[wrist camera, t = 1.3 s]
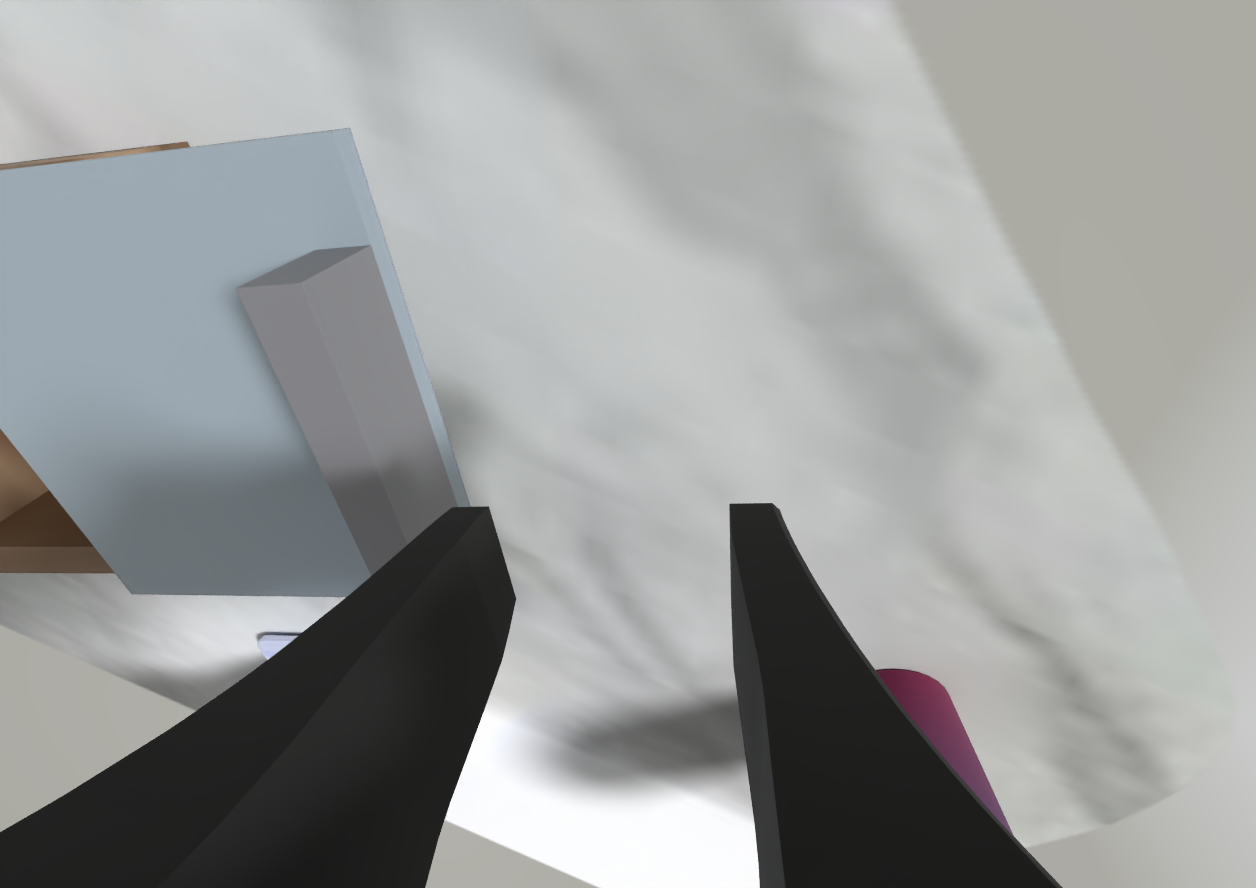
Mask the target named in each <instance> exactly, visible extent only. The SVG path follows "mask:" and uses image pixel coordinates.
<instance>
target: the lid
mask: <svg viewBox="0 0 1256 888" xmlns="http://www.w3.org/2000/svg"><path fill="white" fill-rule="evenodd" d="M0 429H1V430H2V431H3V432H4V434H5V435H6V436H7V437H8V439H9V440H10V441H11V442H12V444H13V445H14V446H15V448H16V449H17V450H18V451H19V453H20V454H21V455H22V456H23V458H24V459H25V460H26V461H27V463H28V464H29V465H30V466H31V468H32V469H33V470H34V471H35V473H36V474H37V475H38V477H39V478H40V479H41V480H42V482H43V483H44V484H45V485H46V487H47V488H48V489H49V490H50V492H51V493H52V494H53V495H54V497H55V498H56V499H57V501H58V502H59V503H60V504H61V506H62V507H63V508H64V509H65V511H66V512H67V513H68V514H69V516H70V517H71V518H72V519H73V521H74V522H75V523H76V525H77V526H78V527H79V528H80V530H81V531H82V532H83V533H84V535H85V536H86V537H87V538H88V540H89V541H90V542H91V543H92V545H93V546H94V547H95V548H96V550H97V551H98V552H99V554H100V555H101V556H102V557H103V559H104V560H105V561H106V562H107V564H108V565H109V566H110V567H111V569H112V570H113V571H114V572H115V574H116V575H117V576H118V578H119V579H120V580H121V581H122V583H123V584H124V585H125V586H126V588H127V589H128V590H129V591H130V593H131V594H159V595H232V596H305V597H347V596H348V595H350V594H351V593H352V592H353V591H354V590H355V589H357V588H358V587H359V586H360V585H361V584H362V583H364V582H365V581H366V580H367V579H368V578H369V577H371V576H372V575H373V574H374V573H375V572H376V571H378V570H379V569H380V568H381V567H382V566H383V565H385V564H386V563H387V562H388V561H389V560H390V559H392V558H393V557H394V556H395V555H396V554H397V553H398V552H400V551H401V550H402V549H403V548H404V547H405V546H406V545H408V544H409V543H410V542H411V541H412V540H413V539H415V538H416V537H417V536H418V535H419V534H420V533H421V532H423V531H424V530H425V529H426V528H427V527H428V526H430V525H431V524H432V523H433V522H434V521H435V520H437V519H438V518H439V517H440V516H442V515H443V514H444V513H445V512H447V511H448V510H449V509H450V508H452V507H471V506H470V503H469V500H468V497H467V494H466V491H465V488H464V484H463V481H462V478H461V475H460V472H459V469H458V466H457V462H456V459H455V456H454V453H453V450H452V447H451V444H450V440H449V437H448V434H447V431H446V428H445V425H444V422H443V418H442V415H441V412H440V409H439V406H438V403H437V400H436V396H435V393H434V390H433V387H432V384H431V381H430V378H429V374H428V371H427V368H426V365H425V362H424V359H423V356H422V352H421V349H420V346H419V343H418V340H417V337H416V334H415V330H414V327H413V324H412V321H411V318H410V315H409V312H408V308H407V305H406V302H405V299H404V296H403V293H402V290H401V286H400V283H399V280H398V277H397V274H396V271H395V268H394V264H393V261H392V258H391V255H390V252H389V249H388V246H387V242H386V239H385V236H384V233H383V230H382V227H381V224H380V220H379V217H378V214H377V211H376V208H375V205H374V202H373V198H372V195H371V192H370V189H369V186H368V183H367V180H366V177H365V173H364V170H363V167H362V164H361V161H360V158H359V155H358V151H357V148H356V145H355V142H354V139H353V136H352V133H351V129H350V128H345V129H337V130H329V131H321V132H312V133H304V134H296V135H287V136H279V137H271V138H263V139H254V140H246V141H238V142H229V143H221V144H213V145H204V146H196V147H188V148H180V149H171V150H163V151H155V152H146V153H138V154H130V155H121V156H113V157H105V158H97V159H88V160H80V161H72V162H63V163H55V164H47V165H38V166H30V167H22V168H14V169H5V170H0Z"/></svg>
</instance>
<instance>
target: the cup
mask: <svg viewBox="0 0 1256 888" xmlns="http://www.w3.org/2000/svg"><path fill="white" fill-rule="evenodd" d="M876 672H877V673H878V675H879V676H880V677H881V679H882V680H883V682H884V683H885V684H886V686H887V687H888V688H889V690H890V691H891V692H892V693H893V695H894V696H895V697H896V699H897V700H898V701H899V703H900V704H901V705H902V707H903V708H904V709H905V710H906V712H907V713H908V714H909V715H910V717H911V718H912V719H913V720H914V722H915V723H916V724H917V725H918V727H919V728H920V729H921V730H922V732H923V733H924V734H925V735H926V736H927V738H928V739H929V740H930V741H931V742H932V744H933V745H934V746H935V747H936V748H937V750H938V751H939V752H940V753H941V755H942V756H943V757H944V758H945V759H946V761H947V762H948V763H949V764H950V765H951V767H952V768H953V769H954V770H955V771H956V772H957V773H958V775H959V776H960V777H961V778H962V779H963V780H964V781H965V783H966V784H967V785H968V786H969V787H970V788H971V789H972V791H973V792H974V793H975V794H976V795H977V796H978V797H979V799H980V800H981V801H982V802H983V803H984V804H985V805H986V807H987V808H988V809H989V810H990V811H991V812H992V813H993V815H994V816H995V817H996V818H997V819H998V820H999V821H1000V822H1001V823H1002V825H1003V826H1004V827H1005V828H1006V829H1007V830H1008V831H1009V832H1010V833H1011V834H1012V831H1011V829H1010V827H1009V825H1008V823H1007V820H1006V818H1005V816H1004V814H1003V812H1002V810H1001V807H1000V805H999V803H998V801H997V799H996V796H995V794H994V792H993V790H992V788H991V786H990V783H989V781H988V779H987V777H986V775H985V772H984V770H983V768H982V766H981V764H980V761H979V759H978V757H977V755H976V753H975V751H974V748H973V746H972V744H971V742H970V740H969V737H968V735H967V733H966V731H965V729H964V727H963V724H962V722H961V720H960V718H959V716H958V713H957V711H956V709H955V707H954V705H953V703H952V700H951V698H950V696H949V694H948V692H947V691H946V689H945V687H943V686H942V685H941V684H940V683H939V682H938V681H936V680H935V679H933V678H931V677H929V676H927V675H924V674H921V673H918V672H913V671H909V670H897V669H895V670H881V671H876ZM1012 835H1013V834H1012Z"/></svg>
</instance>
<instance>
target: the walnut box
mask: <svg viewBox="0 0 1256 888" xmlns="http://www.w3.org/2000/svg"><path fill="white" fill-rule="evenodd" d="M188 147H189V144H188V142H180V143H172V144H164V145H155V146H147V147H139V148H131V149H123V150H115V151H106V152H98V153H90V154H82V155H74V156H66V157H57V158H49V159H41V160H33V161H25V162H16V163H8V164H0V170H5V169H14V168H22V167H30V166H38V165H47V164H55V163H63V162H72V161H80V160H88V159H97V158H105V157H113V156H121V155H130V154H138V153H146V152H155V151H163V150H171V149H180V148H188ZM0 573H115V572H114V571H113V570H112V569H111V567H110V566H109V565H108V564H107V562H106V561H105V560H104V559H103V557H102V556H101V555H100V554H99V552H98V551H97V550H96V548H95V547H94V546H93V545H92V543H91V542H90V541H89V540H88V538H87V537H86V536H85V535H84V533H83V532H82V531H81V530H80V528H79V527H78V526H77V525H76V523H75V522H74V521H73V519H72V518H71V517H70V516H69V514H68V513H67V512H66V511H65V509H64V508H63V507H62V506H61V504H60V503H59V502H58V501H57V499H56V498H55V497H54V495H53V494H52V493H51V492H50V490H49V489H48V488H47V487H46V485H45V484H44V483H43V482H42V480H41V479H40V478H39V477H38V475H37V474H36V473H35V471H34V470H33V469H32V468H31V466H30V465H29V464H28V463H27V461H26V460H25V459H24V458H23V456H22V455H21V454H20V453H19V451H18V450H17V449H16V448H15V446H14V445H13V444H12V442H11V441H10V440H9V439H8V437H7V436H6V435H5V434H4V432H3V431H2V430H1V429H0Z"/></svg>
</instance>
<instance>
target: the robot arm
mask: <svg viewBox="0 0 1256 888" xmlns="http://www.w3.org/2000/svg"><path fill="white" fill-rule="evenodd" d="M730 560H731V609H732V636H733V662H734V672H735V680H736V687H737V695H738V703H739V710H740V718H741V725H742V733H743V740H744V747H745V755H746V762H747V770H748V777H749V785H750V792H751V800H752V807H753V815H754V822H755V831H756V841H757V852H758V862H759V878H760V888H1062V887H1061V886H1060V885H1059V884H1058V883H1057V881H1056V880H1055V879H1054V878H1053V877H1052V876H1051V875H1050V874H1049V873H1048V872H1047V871H1046V870H1045V869H1044V868H1043V867H1042V866H1041V865H1040V864H1039V863H1038V861H1036V859H1035V858H1034V857H1033V856H1032V855H1031V854H1030V853H1029V852H1028V851H1027V850H1026V849H1025V848H1024V847H1023V846H1022V845H1021V844H1020V842H1019V841H1018V840H1017V839H1016V838H1015V837H1014V836H1013V835H1012V834H1011V833H1010V832H1009V831H1008V830H1007V829H1006V828H1005V827H1004V826H1003V825H1002V823H1001V822H1000V821H999V820H998V819H997V818H996V817H995V816H994V815H993V813H992V812H991V811H990V810H989V809H988V808H987V807H986V805H985V804H984V803H983V802H982V801H981V800H980V799H979V797H978V796H977V795H976V794H975V793H974V792H973V791H972V789H971V788H970V787H969V786H968V785H967V784H966V783H965V781H964V780H963V779H962V778H961V777H960V776H959V775H958V773H957V772H956V771H955V770H954V769H953V768H952V767H951V765H950V764H949V763H948V762H947V761H946V759H945V758H944V757H943V756H942V755H941V753H940V752H939V751H938V750H937V748H936V747H935V746H934V745H933V744H932V742H931V741H930V740H929V739H928V738H927V736H926V735H925V734H924V733H923V732H922V730H921V729H920V728H919V727H918V725H917V724H916V723H915V722H914V720H913V719H912V718H911V717H910V715H909V714H908V713H907V712H906V710H905V709H904V708H903V707H902V705H901V704H900V703H899V701H898V700H897V699H896V697H895V696H894V695H893V693H892V692H891V691H890V690H889V688H888V687H887V686H886V684H885V683H884V682H883V680H882V679H881V677H880V676H879V675H878V673H877V672H876V671H875V669H874V668H873V666H872V665H871V664H870V662H869V661H868V660H867V658H866V657H865V655H864V654H863V653H862V651H861V650H860V648H859V647H858V646H857V644H856V643H855V641H854V640H853V638H852V637H851V635H850V634H849V632H848V631H847V629H846V628H845V627H844V625H843V623H842V622H841V620H840V619H839V617H838V616H837V614H836V612H835V611H834V609H833V608H832V606H831V605H830V603H829V602H828V600H827V598H826V597H825V595H824V594H823V592H822V591H821V589H820V587H819V586H818V584H817V582H816V581H815V579H814V577H813V576H812V574H811V572H810V571H809V569H808V567H807V565H806V563H805V562H804V560H803V558H802V556H801V554H800V553H799V551H798V549H797V547H796V545H795V543H794V541H793V539H792V537H791V535H790V533H789V531H788V529H787V527H786V524H785V522H784V520H783V517H782V515H781V512H780V510H779V509H778V508H777V507H776V506H775V505H774V504H772V503H753V504H730ZM515 601H516V597H515V593H514V590H513V586H512V583H511V580H510V576H509V573H508V570H507V566H506V563H505V559H504V556H503V553H502V549H501V546H500V543H499V539H498V536H497V533H496V529H495V526H494V522H493V519H492V516H491V512H490V509H489V507H452V508H450V509H449V510H448V511H447V512H445V513H444V514H443V515H442V516H440V517H439V518H438V519H437V520H435V521H434V522H433V523H432V524H431V525H430V526H428V527H427V528H426V529H425V530H424V531H423V532H421V533H420V534H419V535H418V536H417V537H416V538H415V539H413V540H412V541H411V542H410V543H409V544H408V545H406V546H405V547H404V548H403V549H402V550H401V551H400V552H398V553H397V554H396V555H395V556H394V557H393V558H392V559H390V560H389V561H388V562H387V563H386V564H385V565H383V566H382V567H381V568H380V569H379V570H378V571H376V572H375V573H374V574H373V575H372V576H371V577H369V578H368V579H367V580H366V581H365V582H364V583H362V584H361V585H360V586H359V587H358V588H357V589H355V590H354V591H353V592H352V593H351V594H350V595H348V596H347V597H346V598H345V599H344V600H343V601H341V602H340V603H339V604H338V605H336V606H335V607H334V608H333V609H331V610H330V611H329V612H328V613H326V614H325V615H324V616H323V617H321V618H320V619H319V620H318V621H316V622H315V623H314V624H313V625H311V626H310V627H309V628H308V629H306V630H305V631H304V632H303V633H301V634H300V635H299V636H283V635H265V636H263V637H262V638H261V639H260V640H259V641H258V647H259V649H260V650H261V652H262V653H263V655H264V656H265V658H266V659H267V661H266V662H264V663H263V664H262V665H260V666H259V667H258V668H256V669H255V670H254V671H252V672H251V673H250V674H248V675H247V676H245V677H244V678H243V679H241V680H240V681H239V682H237V683H236V684H234V685H233V686H232V687H230V688H229V689H227V690H226V691H225V692H223V693H222V694H220V695H219V696H217V697H216V698H214V699H213V700H212V701H210V702H209V703H207V704H206V705H204V706H203V707H201V708H200V709H199V710H197V711H196V712H194V713H193V714H191V715H190V716H188V717H187V718H186V719H184V720H183V721H181V722H180V723H178V724H177V725H175V726H174V727H172V728H171V729H169V730H168V731H166V732H165V733H163V734H161V735H160V736H158V737H157V738H155V739H153V740H152V741H150V742H149V743H147V744H145V745H144V746H142V747H141V748H139V749H137V750H136V751H134V752H133V753H131V754H129V755H128V756H126V757H125V758H123V759H121V760H120V761H119V762H117V763H115V764H113V765H112V766H110V767H109V768H107V769H105V770H104V771H102V772H101V773H99V774H97V775H96V776H94V777H93V778H91V779H89V780H88V781H86V782H85V783H83V784H81V785H80V786H78V787H77V788H75V789H73V790H72V791H70V792H69V793H67V794H65V795H64V796H62V797H60V798H59V799H57V800H55V801H53V802H52V803H50V804H48V805H47V806H45V807H43V808H41V809H40V810H38V811H37V812H35V813H33V814H31V815H29V816H28V817H26V818H24V819H22V820H21V821H19V822H17V823H15V824H14V825H12V826H10V827H9V828H7V829H5V830H3V831H2V832H0V888H425V886H426V882H427V879H428V875H429V871H430V867H431V864H432V860H433V856H434V852H435V849H436V845H437V841H438V838H439V835H440V832H441V829H442V826H443V822H444V819H445V816H446V813H447V810H448V807H449V804H450V801H451V799H452V796H453V793H454V790H455V788H456V785H457V782H458V780H459V777H460V774H461V771H462V769H463V766H464V763H465V761H466V758H467V755H468V752H469V750H470V747H471V744H472V742H473V739H474V736H475V733H476V731H477V728H478V725H479V723H480V720H481V717H482V714H483V712H484V709H485V706H486V703H487V701H488V698H489V695H490V692H491V690H492V687H493V684H494V681H495V678H496V676H497V673H498V670H499V667H500V664H501V661H502V658H503V654H504V650H505V646H506V642H507V638H508V634H509V629H510V625H511V620H512V615H513V611H514V606H515Z"/></svg>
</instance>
